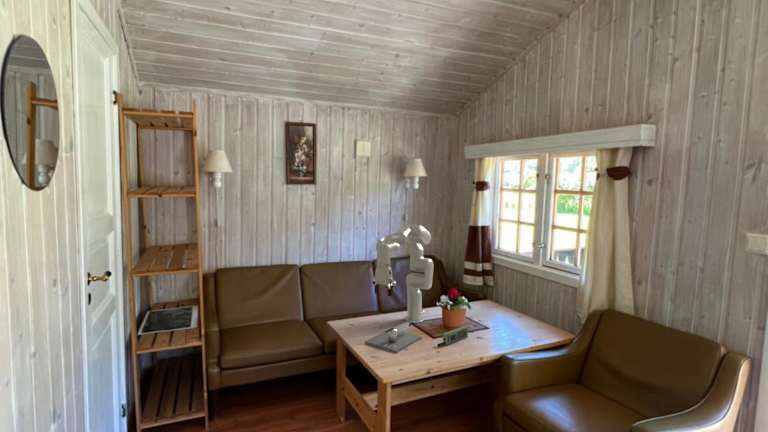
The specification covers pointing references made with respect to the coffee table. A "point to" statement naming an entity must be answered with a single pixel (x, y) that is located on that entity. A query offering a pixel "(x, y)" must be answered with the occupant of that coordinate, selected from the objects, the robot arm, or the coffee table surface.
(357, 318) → the coffee table surface
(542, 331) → the coffee table surface
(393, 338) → the bar with ball ends
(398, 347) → the stand plate
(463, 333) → the handheld radio
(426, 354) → the coffee table surface
